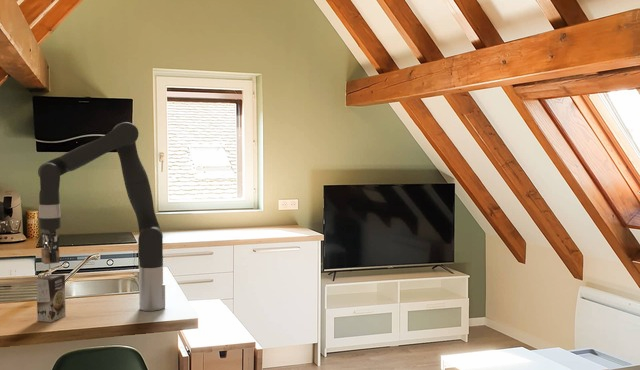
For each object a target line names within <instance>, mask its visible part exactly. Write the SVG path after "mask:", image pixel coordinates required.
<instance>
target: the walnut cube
mask: <svg viewBox="0 0 640 370" xmlns="http://www.w3.org/2000/svg"><path fill="white" fill-rule="evenodd" d="M40 251H41V252H40V253H41V255H40V256H41V262H42V263H43V264H45V265H48V264H49V265H51V264H58V263H60V249H59V250H58V251H57V252H56V262H54V263H51V262H50V252H49V248H45V249H44V248H41V250H40Z"/></svg>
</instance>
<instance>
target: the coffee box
mask: <svg viewBox="0 0 640 370" xmlns="http://www.w3.org/2000/svg"><path fill="white" fill-rule="evenodd" d="M36 313H37V314H36V316H37V317H36V319H37V320H36V321H37V322H46V323H53V322H55V321H57V320H59V319H61V318H64V317H65V316H66V274H58V273H57V274H56V273H55V274H53V273H52V274H48V275H44V276H41V277H39V278H36Z"/></svg>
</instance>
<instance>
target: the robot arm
mask: <svg viewBox="0 0 640 370" xmlns="http://www.w3.org/2000/svg"><path fill="white" fill-rule="evenodd" d="M139 135H140V134H139V130H138V127H137V126H136V125H135V124H133V123H131V122H128V121H124V122H121V123H118V124H116V125H115V126H114V127H113V128H112V130H110V131H109V132H108V133H106V134H105V135H103V136H101V137H99V138H97V139H95V140H92V141H90V142H87V143H85V144H82V145H80V146H78V147H76V148H74V149H71V150H70V151H68V152H66V153H64V154H62V155H60V156H59V157H56V158H53V159H50V160H48V161H46V162H44V163H42V164H41V165H39V167H38V170H37V175H38V177H39V183H40V184H39V185H40V190H39V195H38V197H39V199H38V201H39V202H38V203H39V204H38V205H39V206H38V227H39V229H40V230H42V231H43V232H41V235H40V236H41V242H42V243H41V245H42V249H45V248H49V252H50V262H51V263H52V264H55V263H54V262H56V252H57V251H58V250H59V251H60V249H59V247H60V235H58V234H57V231H56V230H59V229H61V227H62V221H61V216H62V215H61V205H60V200H61V197H60V184H61V183H60V182H61V176H62V175H64V174H67V173H69V172H73V171H75V170H78V169H79V168H81V167H84V166H86V165H87V164H89V163H91V162H93V161H95V160H96V159H98V158H100V157H101V156H103V155H105V154H108V153H110V152H111V151H115V150H116V152H117V155H118V158H119V161H120V167H121V172H122V177H123V181H124V186H125V190H126V194H127V197H128V200H129V203H130V205H131V207H132V209H133V211H134V213H135V217H136V222H137V225H138V233H139V234H138V240H137V243H138V245H137V246H138V249H137V250H138V266H139V267H138V268H139V270H138V271H139V273H138V275H139V276H138V277H139V278H138V279H139V280H138V281H139V283H138V285H139V286H138V287H139V290H138V291H139V310H141V311H144V312H145V311H146V312H152V311H153V312H154V311H160V310H162V309H165V308H166V285H165V284H164V271H163V270H164V255H163V254H164V253H163V251H164V250H163V249H164V248H163V246H164V245H163V244H164V243H163V235H164V234H163V232H162V229H161V227H160V224H159V221H158V219H157V216H156V213H155V207H154V202H153V201H154V200H153V199H154V198H153V194H152V188H151V183H150V180H149V177H148V174H147V172H146V170H145V166H144V165H143V163H142V161H141V159H140V157H139V154H138V150H137V149H138V148H137V144H136V141H137V140H138V139H139Z"/></svg>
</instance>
